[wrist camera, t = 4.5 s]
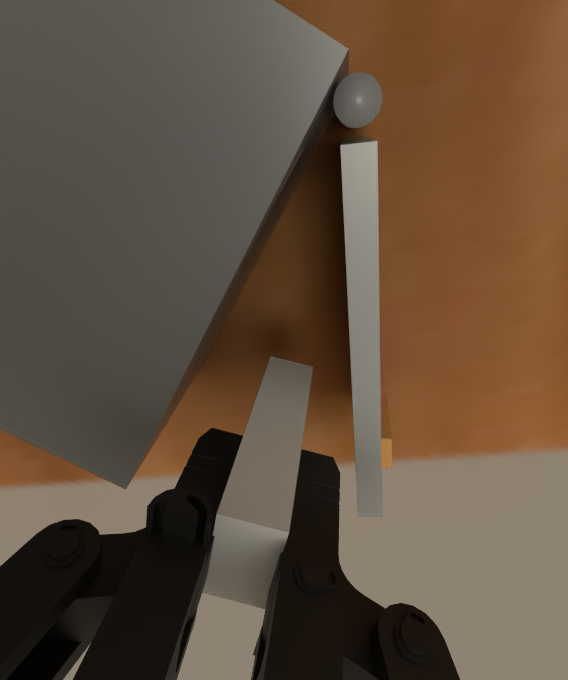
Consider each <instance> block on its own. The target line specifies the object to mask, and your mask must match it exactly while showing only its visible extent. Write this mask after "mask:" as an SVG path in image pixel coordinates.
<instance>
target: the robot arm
mask: <svg viewBox="0 0 568 680" xmlns="http://www.w3.org/2000/svg"><path fill="white" fill-rule="evenodd" d="M312 372H313V367H312V366H308V365H304V364H300V363H296V362H292V361H288V360H284V359H280V358H276V357H272V356H270V359H269V362H268V365H267V368H266V371H265V374H264V377H263V380H262V383H261V386H260V389H259V392H258V394H257V397H256V400H255V403H254V406H253V409H252V412H251V415H250V418H249V421H248V424H247V427H246V430H245V432H244V435H243V436H242V435H238V434H234V433H230V432H226V431H222V430H218V429H214V428H211V429H210V430H209V431H207V432H206V433H205V434H204V435H202V436H201V437H200V438H199V439H198V441H197V443H196V445H195V447H194V449H193V452H192V455H191V456H190V458H189V460H188V462H187V464H186V466H185V468H184V470H183V472H182V474H181V476H180V478H179V480H178V483H177V485H176V487H175V489H171V490H166V491H164V492H163V493H161V494H160V495H158V496H156V497H155V498H154V499H153V500H152V501H151V503H150V504H149V505H148V506H147V520H146V528H144V529H141V530H138V531H136V532H131V533H124V534H106V535H99V532H98V530H97V529H96V528H95V527H94V526H93V525H92V524H91V523H89V522H85V521H82V520H79V519H74V520H63V521H60V522H57V523H54V524H51V525H49V526H47V527H46V528H45V529H43V530H42V531H40V532H39V533H37V534H36V535H35V536H34V537H33V538H32V539H30V540H29V541H28V542H27V543H26V544H25V545H24V546H23V547H21V548H20V549H19V550H18V551H17V552H16V553H15V554H14V555H13V556H12V557H10V558H9V559H8V560H7V561H6V562H5V563H4V564H3V565H1V566H0V680H63V679H64V677H65V676H66V674H68V672H69V671H70V670H71V668H72V667H73V666H74V664H75V663H76V662H77V660H78V659H79V658H80V656H81V655H82V654H83V652H84V651H85V650H86V648H87V647H88V646H89V644H90V643H91V645H90V646H89V648H88V650H87V652H86V655H85V656H84V658H83V661H82V662H81V664H80V666H79V668H78V670H77V672H76V674H75V677H74V678H73V680H177V677H178V674H179V670H180V667H181V664H182V661H183V658H184V654H185V651H186V648H187V644H188V642H189V638H190V635H191V632H192V629H193V625H194V622H195V618H196V612H197V607H198V604H199V601H200V597H201V594H202V593H207V594H210V595H214V596H218V597H221V598H225V599H229V600H233V601H236V602H240V603H244V604H248V605H252V606H255V607H259V608H263V609H265V607H266V609H265V615H264V620H263V625H262V628H261V631H260V635H259V638H258V641H257V644H256V647H255V650H254V653H253V655H255V661H254V666H253V672H252V678H251V680H460V678H459V676H458V673H457V670H456V668H455V665H454V663H453V660H452V657H451V655H450V652H449V650H448V647H447V645H446V642H445V639H444V638H443V636H442V634H441V632H440V630H439V629H438V627H437V626H436V624H435V623H434V622H433V621H432V620H431V619H430V618H429V617H428V616H427V614H425V613H424V612H422V611H421V610H419V609H417V608H416V607H414V606H412V605H407V604H403V603H398V604H394V605H390V606H388V608H386V609H385V608H384V607H382V606H380V605H379V604H377V603H376V602H374V601H372V600H371V599H369V598H367V597H366V596H364V595H363V594H362V593H360V592H359V591H358V590H356V589H355V588H354V587H353V586H352V584H350V582H349V581H348V580H347V578H346V576H345V575H344V573H343V572H342V569H341V566H340V563H339V556H338V543H339V498H340V497H339V496H340V492H339V489H340V472H339V469H338V467H337V465H336V463H335V460H334V458H333V457H329V456H325V455H321V454H317V453H314V452H310V451H306V450H302V449H301V448H302V441H303V434H304V427H305V420H306V414H307V407H308V400H309V393H310V386H311V379H312Z"/></svg>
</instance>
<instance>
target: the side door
mask: <svg viewBox="0 0 568 680" xmlns="http://www.w3.org/2000/svg"><path fill="white" fill-rule="evenodd" d="M340 148H341V169H342V190H343V211H344V232H345V253H346V274H347V295H348V316H349V337H350V358H351V379H352V399H353V420H354V441H355V462H356V483H357V504H358V517H382V479H381V477H382V476H381V468H392V435H391V428H390V421H389V414H388V408H387V401H386V395H381V394H380V312H379V231H378V149H377V140H374V139H371V138H368V137H366V136H365V137H356V138H348V139H343V141H342V143H341V145H340Z"/></svg>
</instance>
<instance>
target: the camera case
mask: <svg viewBox="0 0 568 680" xmlns="http://www.w3.org/2000/svg"><path fill="white" fill-rule="evenodd" d="M348 68H349V49H348V48H346V47H345V46H343V45H342V44H340V43H339V42H337V41H335V40H334V39H332V38H331V37H329V36H328V35H326V34H325V33H323V32H322V31H320V30H319V29H317V28H316V27H314V26H312V25H311V24H309V23H308V22H306V21H305V20H303V19H302V18H300V17H299V16H297V15H296V14H294V13H293V12H291V11H289V10H288V9H286V8H285V7H283V6H282V5H280V4H279V3H277V2H276V1H274V0H0V429H2V430H4V431H6V432H8V433H10V434H12V435H14V436H16V437H18V438H20V439H23V440H25V441H27V442H29V443H31V444H33V445H35V446H37V447H39V448H41V449H43V450H45V451H47V452H49V453H52V454H54V455H56V456H58V457H60V458H62V459H64V460H66V461H68V462H70V463H72V464H74V465H76V466H78V467H81V468H83V469H85V470H87V471H89V472H91V473H93V474H95V475H97V476H99V477H101V478H103V479H105V480H107V481H110V482H112V483H114V484H116V485H118V486H120V487H122V488H124V489H126V488H127V486H128V485H129V483H130V482H131V480H132V478H133V477H134V475H135V473H136V472H137V470H138V469H139V467H140V465H141V464H142V462H143V460H144V459H145V457H146V456H147V454H148V452H149V451H150V449H151V448H152V446H153V444H154V443H155V441H156V439H157V438H158V436H159V435H160V433H161V431H162V430H163V428H164V426H165V425H166V423H167V422H168V420H169V418H170V417H171V415H172V413H173V412H174V410H175V409H176V407H177V405H178V404H179V402H180V401H181V399H182V397H183V396H184V394H185V392H186V391H187V389H188V388H189V386H190V384H191V383H192V381H193V379H194V378H195V376H196V375H197V373H198V371H199V370H200V368H201V366H202V364H203V362H204V360H205V358H206V357H207V355H208V353H209V351H210V349H211V347H212V345H213V343H214V341H215V339H216V338H217V336H218V334H219V332H220V330H221V328H222V326H223V324H224V322H225V320H226V319H227V317H228V315H229V313H230V311H231V309H232V307H233V305H234V303H235V301H236V300H237V298H238V296H239V294H240V292H241V290H242V288H243V286H244V284H245V283H246V281H247V279H248V277H249V275H250V273H251V271H252V269H253V267H254V265H255V264H256V262H257V260H258V258H259V256H260V254H261V252H262V250H263V248H264V246H265V245H266V243H267V241H268V239H269V237H270V235H271V233H272V231H273V229H274V227H275V226H276V224H277V222H278V220H279V218H280V216H281V214H282V212H283V210H284V209H285V207H286V205H287V203H288V201H289V199H290V197H291V195H292V193H293V191H294V190H295V188H296V186H297V184H298V182H299V180H300V178H301V176H302V174H303V172H304V171H305V169H306V167H307V165H308V163H309V161H310V159H311V157H312V155H313V153H314V152H315V150H316V148H317V146H318V144H319V142H320V140H321V138H322V136H323V135H324V133H325V131H326V129H327V127H328V125H329V123H330V121H331V119H332V117H333V116H334V114H336V116H337V117H338V119H339V120H340V121H341V123H342V124H343V125H344V126H345V127H347V128H350V129H355V128H360V127H363V126H366V125H368V124H369V123H371V122H372V121H373V120H374V119H375V118H376V116H377V115H378V113H379V111H380V109H381V105H382V90H381V87H380V85H379V83H378V81H377V80H376V79H375V78H374V77H373V76H372V75H370V74H368V73H364V72H356V73H352V74H350V75H348Z"/></svg>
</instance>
